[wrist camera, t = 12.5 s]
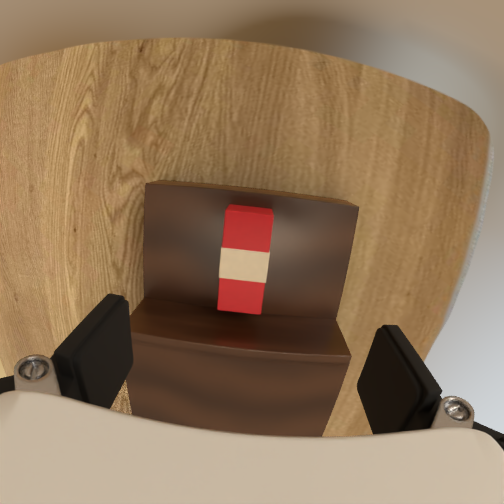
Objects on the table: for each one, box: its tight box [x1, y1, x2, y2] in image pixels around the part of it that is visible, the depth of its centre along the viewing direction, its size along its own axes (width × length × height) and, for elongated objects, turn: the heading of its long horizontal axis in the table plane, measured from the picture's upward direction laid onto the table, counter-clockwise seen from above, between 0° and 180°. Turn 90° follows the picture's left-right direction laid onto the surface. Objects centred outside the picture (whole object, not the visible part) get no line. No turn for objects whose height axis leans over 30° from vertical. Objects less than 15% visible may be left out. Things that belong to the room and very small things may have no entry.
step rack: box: [126, 180, 359, 437], centre depth 27 cm, size 21×18×10 cm
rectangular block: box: [217, 204, 274, 315], centre depth 25 cm, size 8×4×3 cm, turn 174°
